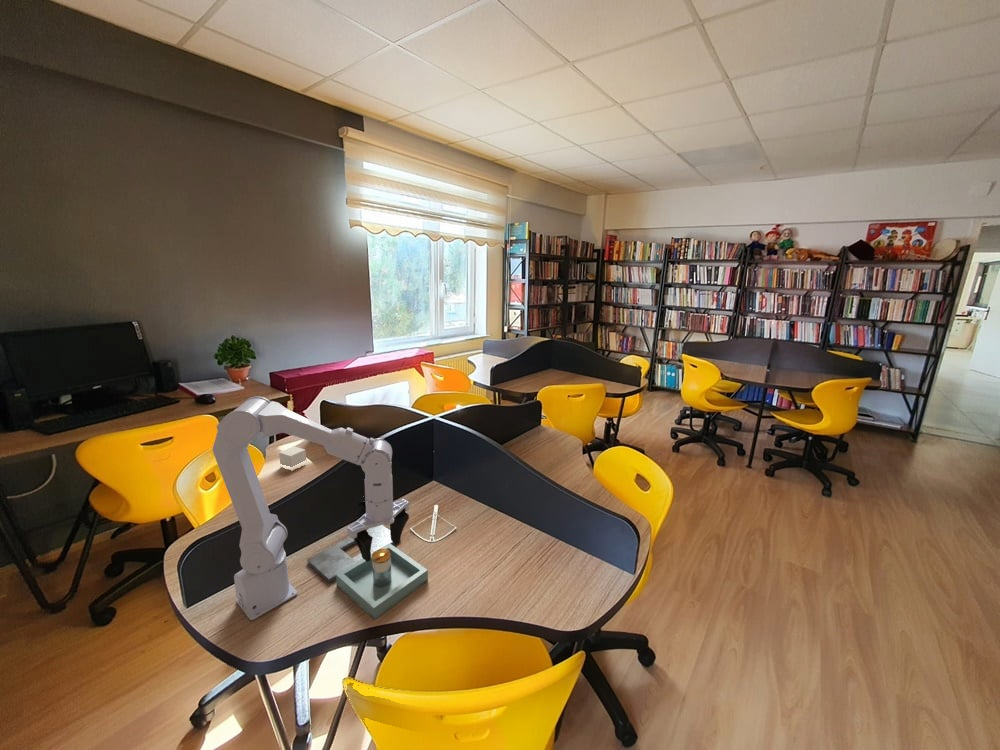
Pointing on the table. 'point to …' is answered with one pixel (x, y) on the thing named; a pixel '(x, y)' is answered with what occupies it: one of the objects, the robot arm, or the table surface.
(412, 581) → the tray
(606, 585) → the table surface
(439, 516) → the crossbow
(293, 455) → the light grey cube
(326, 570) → the bracket
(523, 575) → the table surface
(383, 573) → the orange-capped cylinder
